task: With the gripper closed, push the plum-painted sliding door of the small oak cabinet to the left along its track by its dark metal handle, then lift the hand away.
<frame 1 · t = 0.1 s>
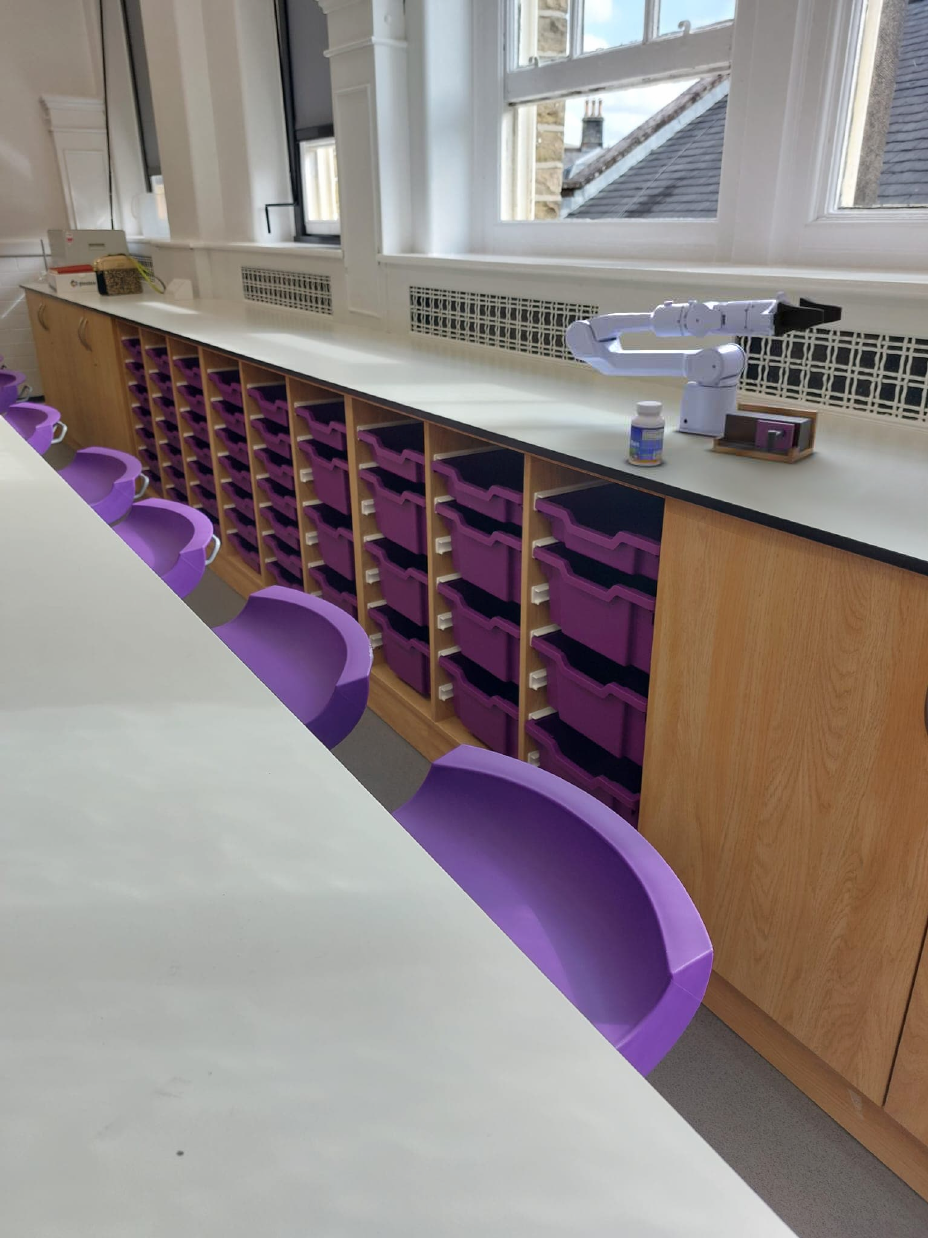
hand: (832, 315, 145), 22 cm above the table, tool horizontal, fingers open, 7 cm apart
cabinet: (762, 451, 150), on the table
pill bottle: (645, 463, 145), on the table
sliding door: (767, 439, 143), point 4 cm above the table, slide at 0.0 cm
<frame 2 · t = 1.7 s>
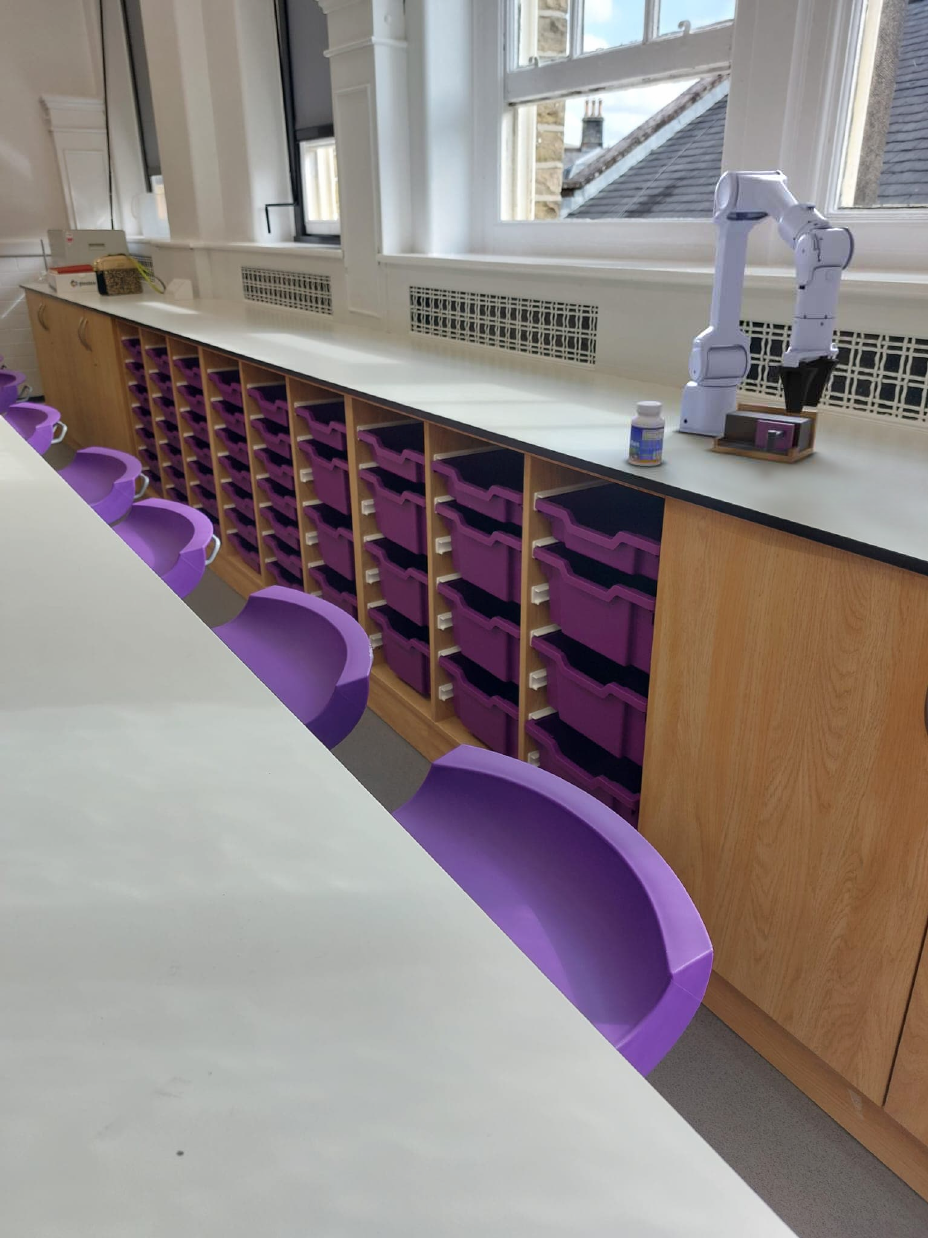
hand: (801, 409, 136), 9 cm above the table, tool pointing down, fingers open, 6 cm apart
nothing on the table moved.
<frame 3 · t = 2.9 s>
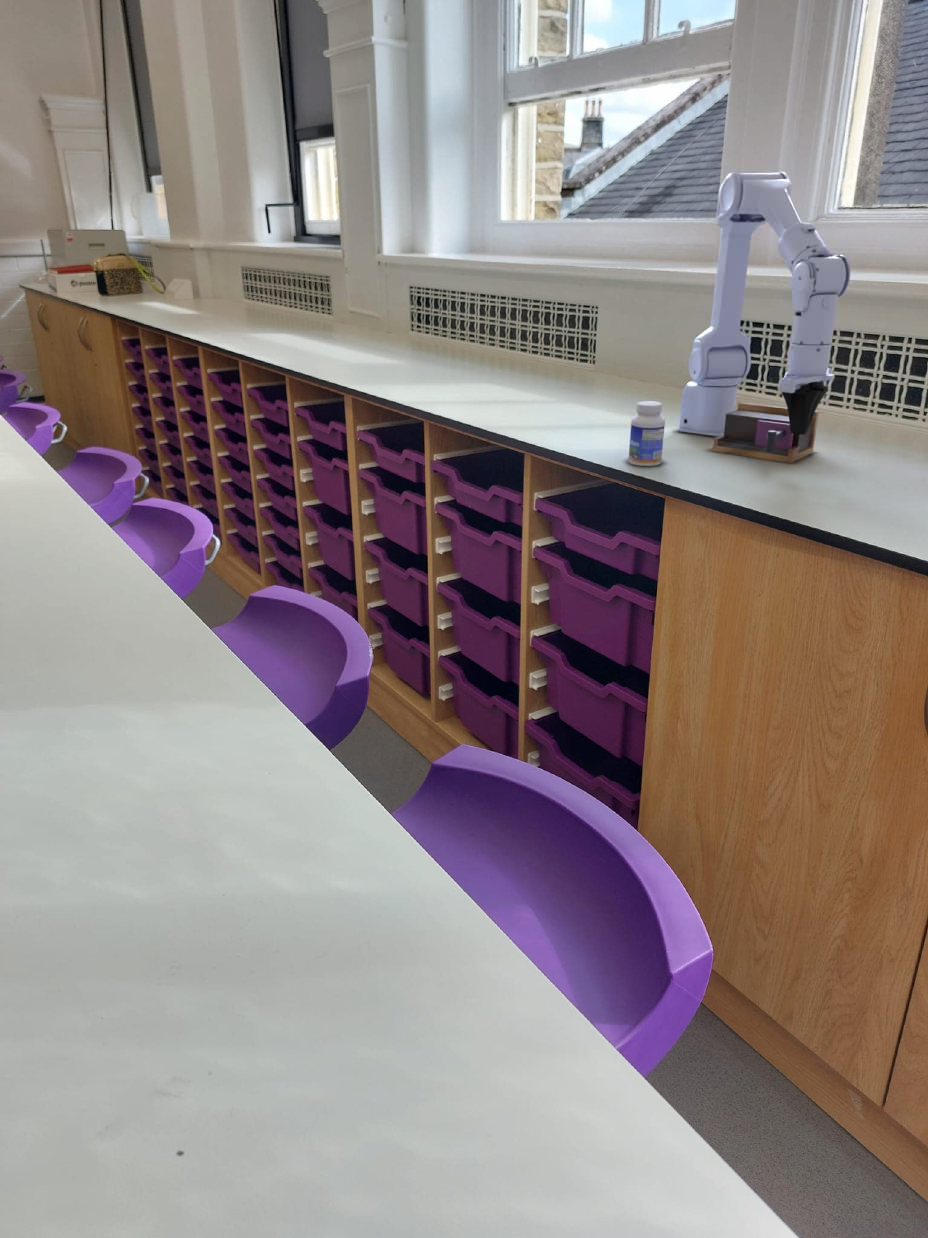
hand: (798, 433, 137), 6 cm above the table, tool pointing down, fingers closed
nothing on the table moved.
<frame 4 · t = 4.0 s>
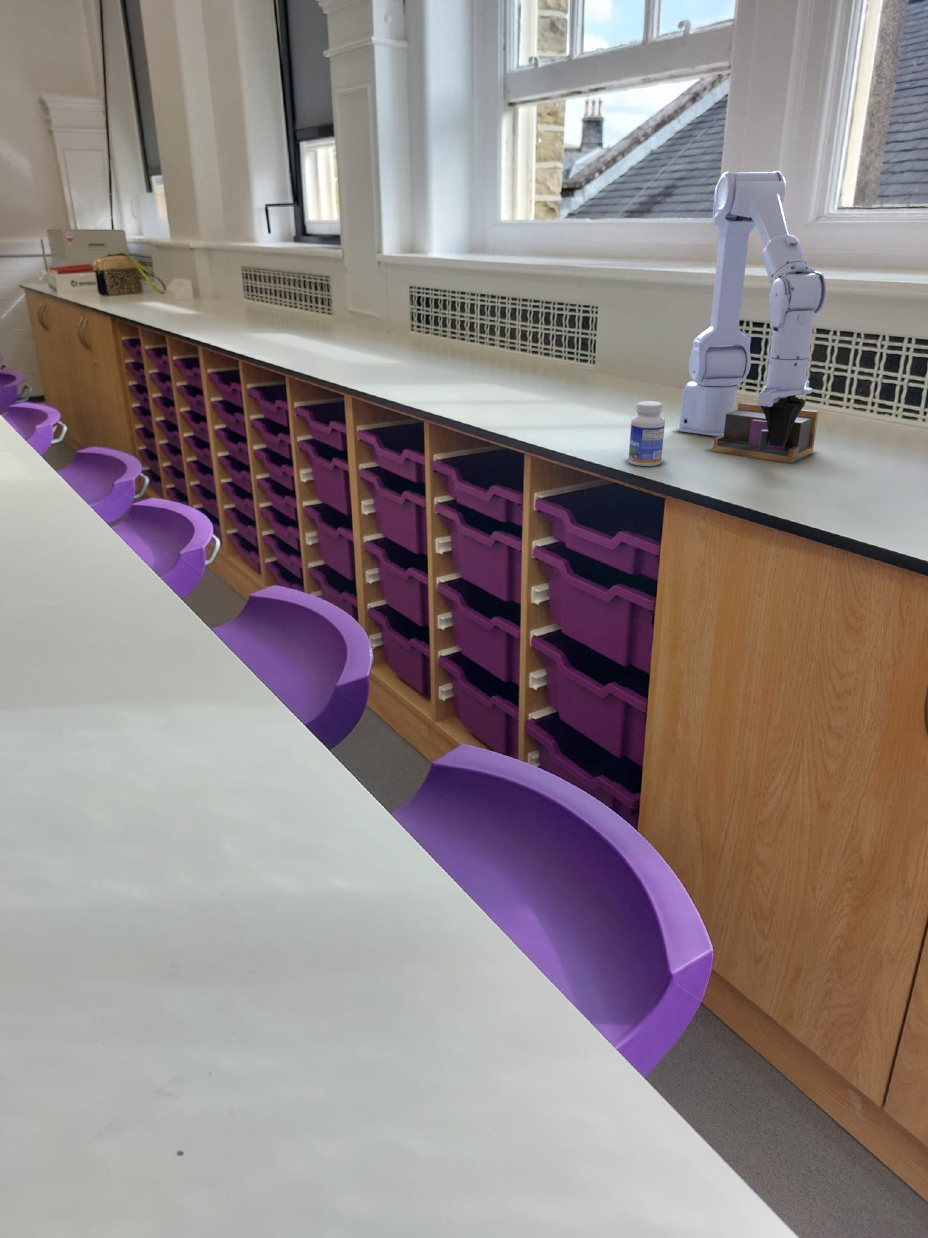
hand: (777, 445, 140), 3 cm above the table, tool pointing down, fingers closed, pressing on sliding door
sliding door: (761, 438, 144), point 4 cm above the table, slide at 1.1 cm, touching gripper
everything else where it was.
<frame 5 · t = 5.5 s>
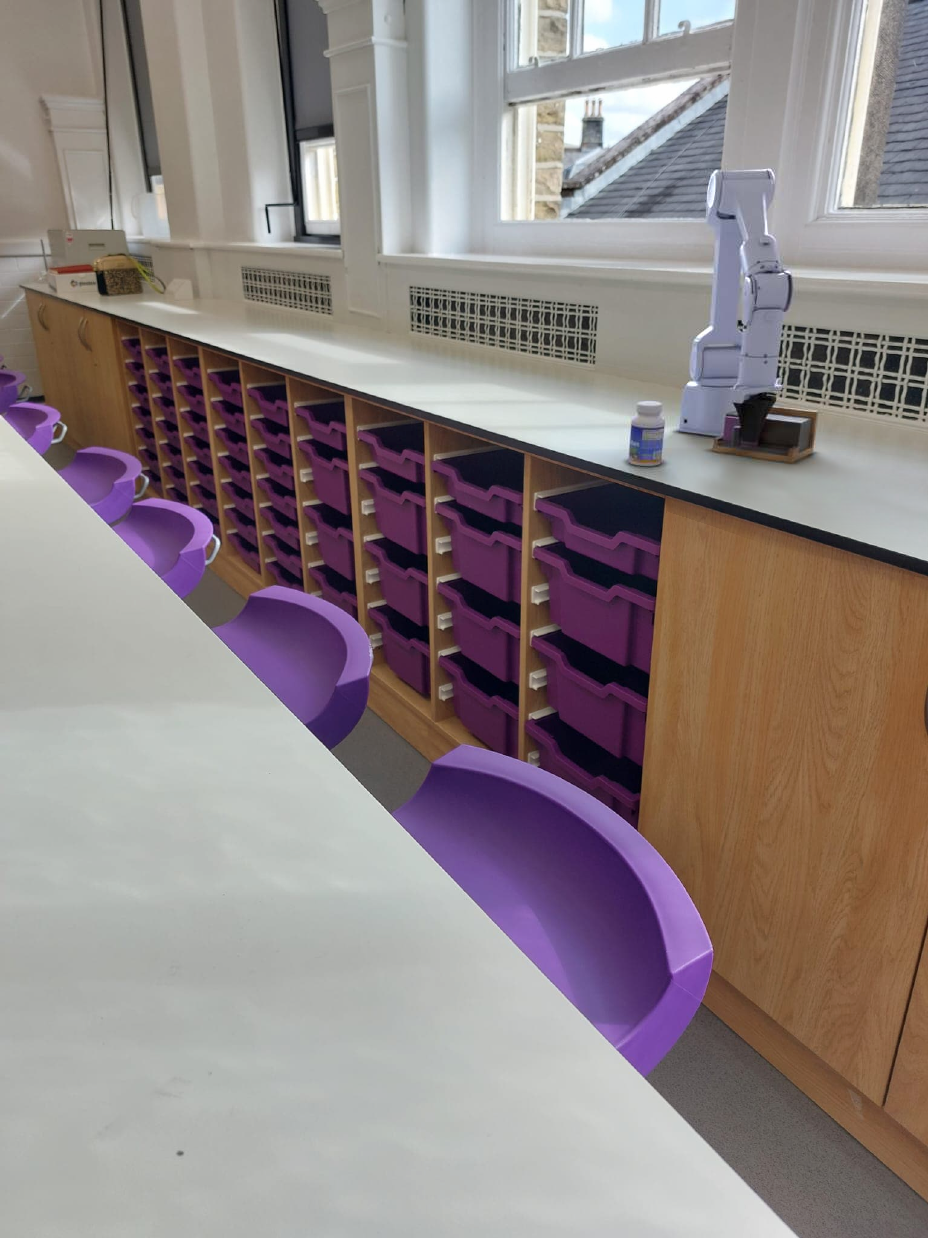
hand: (749, 441, 143), 3 cm above the table, tool pointing down, fingers closed, pressing on sliding door
sliding door: (734, 434, 146), point 4 cm above the table, slide at 5.8 cm, touching gripper
everything else where it was.
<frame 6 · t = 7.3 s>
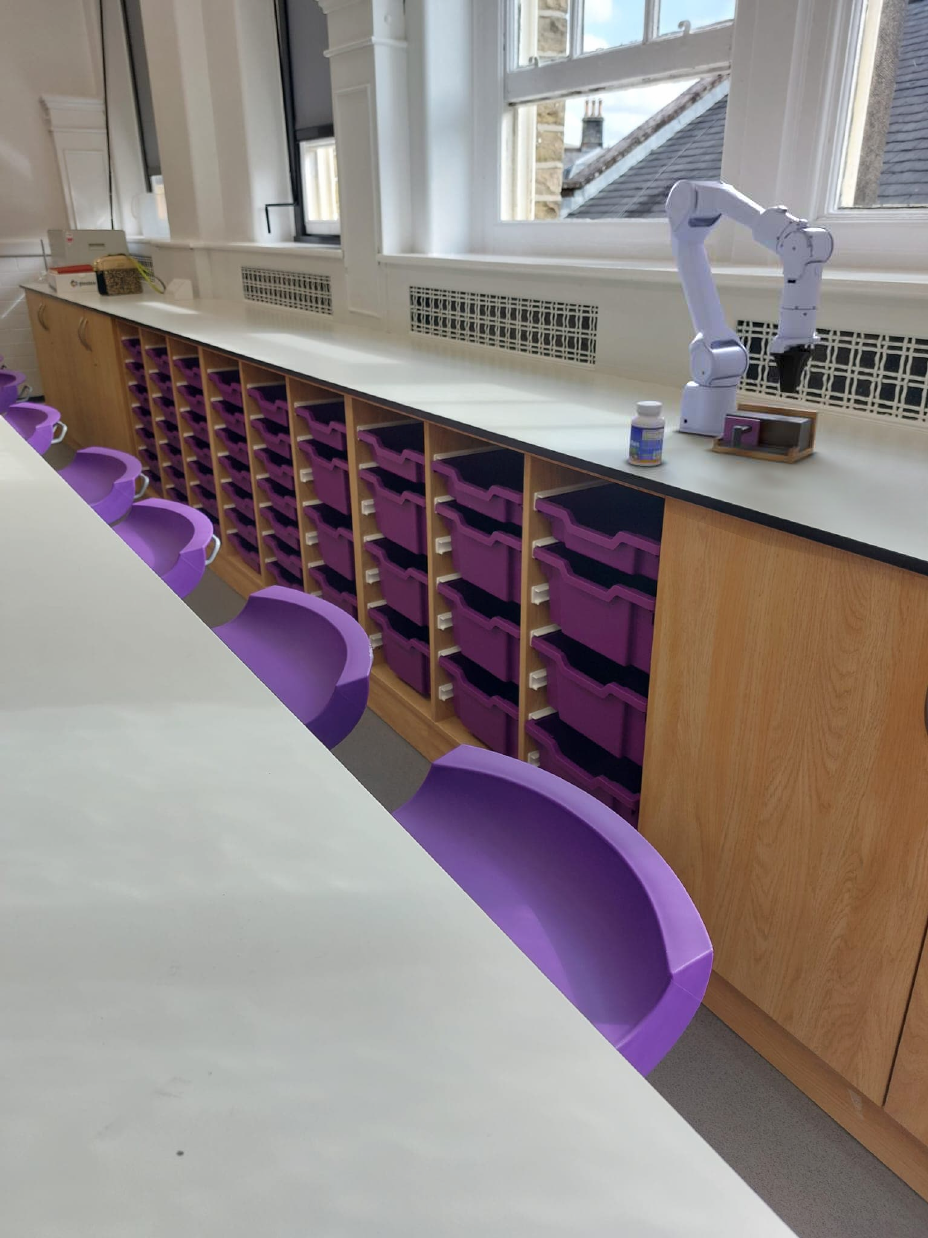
hand: (787, 392, 149), 9 cm above the table, tool pointing down, fingers closed
sliding door: (734, 434, 146), point 4 cm above the table, slide at 5.8 cm
everything else where it was.
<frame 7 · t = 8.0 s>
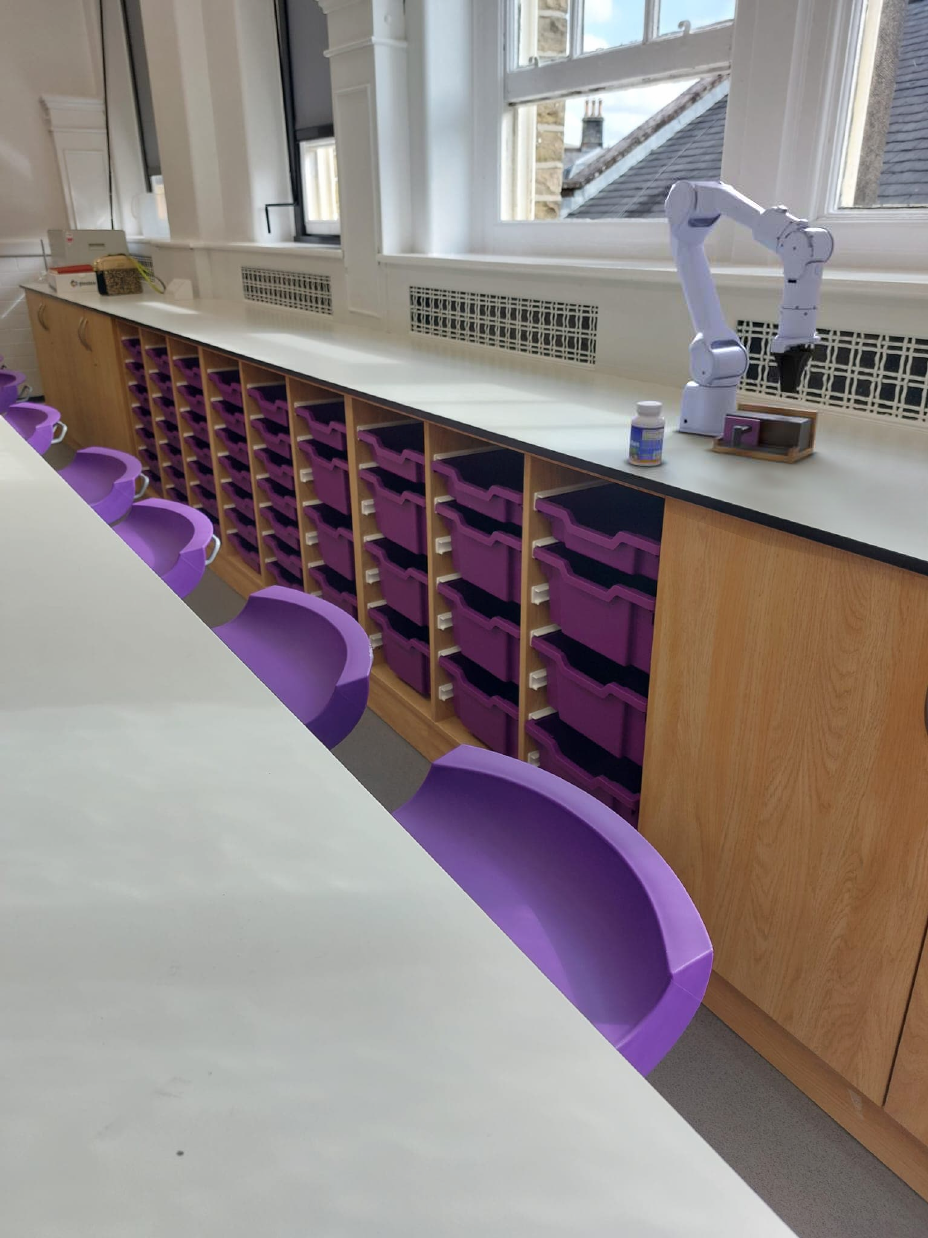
hand: (788, 391, 149), 9 cm above the table, tool pointing down, fingers closed
nothing on the table moved.
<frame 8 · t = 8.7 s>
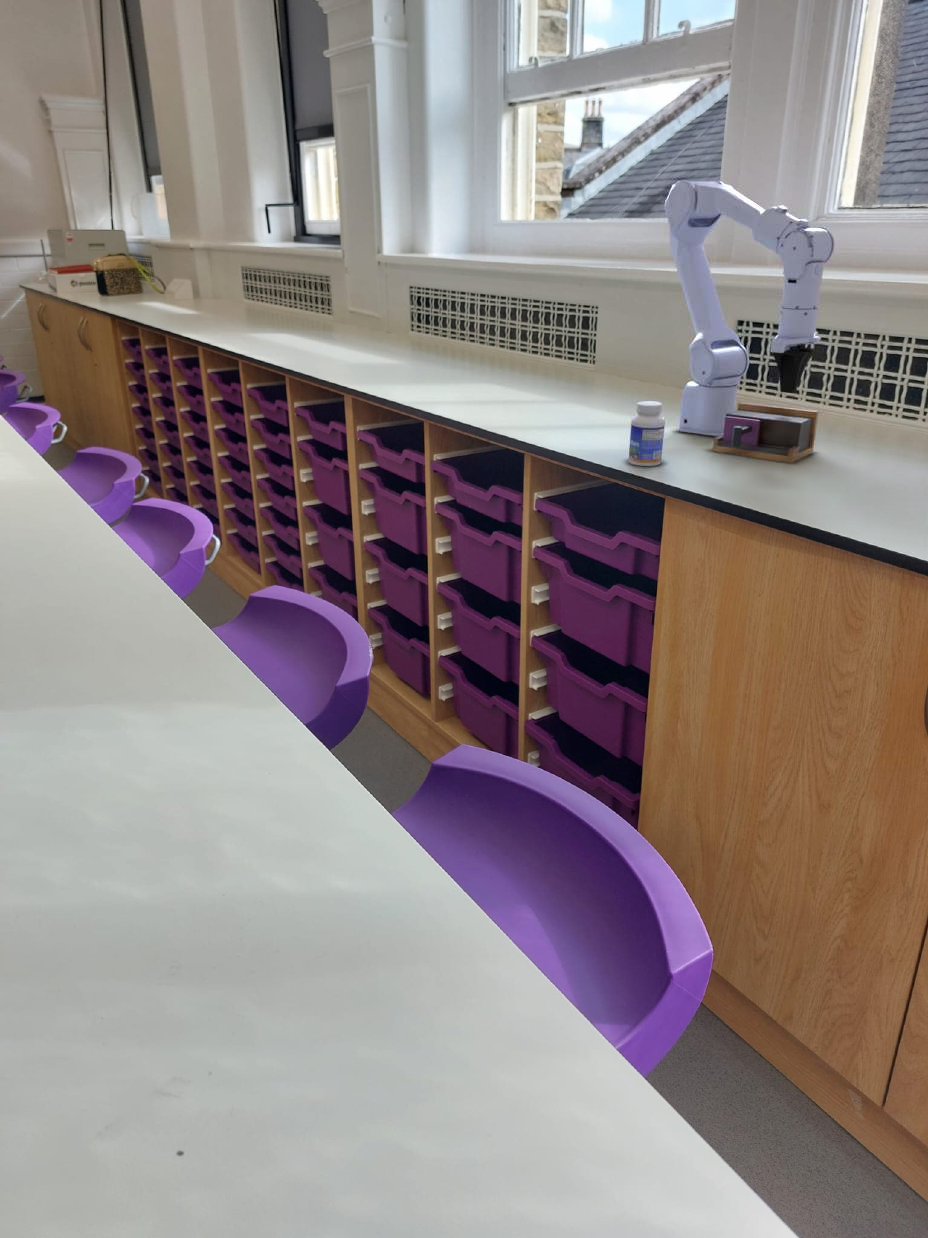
hand: (788, 391, 149), 9 cm above the table, tool pointing down, fingers closed
nothing on the table moved.
at the end: sliding door slide at 5.8 cm; pill bottle moved 0.2 cm from its start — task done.
